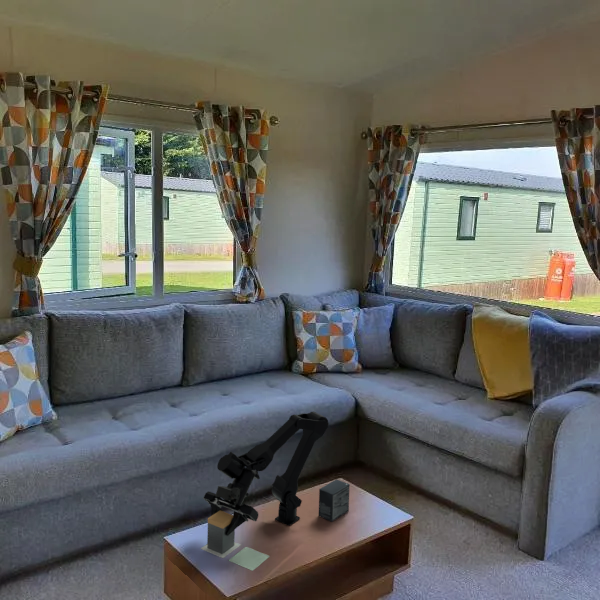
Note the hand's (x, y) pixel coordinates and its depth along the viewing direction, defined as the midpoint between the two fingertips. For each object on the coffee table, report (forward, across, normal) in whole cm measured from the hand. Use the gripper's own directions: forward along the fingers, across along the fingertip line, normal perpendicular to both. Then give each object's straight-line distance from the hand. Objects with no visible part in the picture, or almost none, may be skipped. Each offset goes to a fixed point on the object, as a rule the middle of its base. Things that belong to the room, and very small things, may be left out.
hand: (218, 532), depth 183 cm
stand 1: (+4, 0, +6) cm, 7 cm away
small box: (-25, +19, +34) cm, 46 cm away
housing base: (+3, 0, +5) cm, 6 cm away
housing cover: (-3, 0, -1) cm, 3 cm away
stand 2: (+4, +11, +6) cm, 13 cm away
